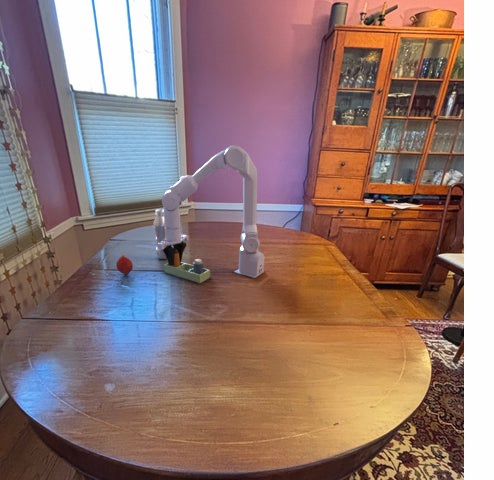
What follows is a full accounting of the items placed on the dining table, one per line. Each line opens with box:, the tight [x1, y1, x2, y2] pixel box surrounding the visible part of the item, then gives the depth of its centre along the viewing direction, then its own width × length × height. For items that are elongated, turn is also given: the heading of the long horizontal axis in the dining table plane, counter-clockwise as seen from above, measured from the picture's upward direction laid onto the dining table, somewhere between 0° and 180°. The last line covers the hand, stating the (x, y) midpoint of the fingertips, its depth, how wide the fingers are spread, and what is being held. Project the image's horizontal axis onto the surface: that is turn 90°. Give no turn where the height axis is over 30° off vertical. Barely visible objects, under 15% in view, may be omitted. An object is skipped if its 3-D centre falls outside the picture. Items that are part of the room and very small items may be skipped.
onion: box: [115, 254, 134, 276], centre depth 111 cm, size 6×6×8 cm
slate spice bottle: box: [192, 258, 204, 275], centre depth 109 cm, size 4×4×7 cm
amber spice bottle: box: [170, 249, 180, 267], centre depth 113 cm, size 4×4×7 cm
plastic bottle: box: [153, 208, 167, 260], centre depth 124 cm, size 6×7×20 cm
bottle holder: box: [163, 261, 211, 284], centre depth 112 cm, size 17×6×4 cm, turn 57°
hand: (175, 263), depth 114 cm, fingers closed on amber spice bottle, 4 cm apart
